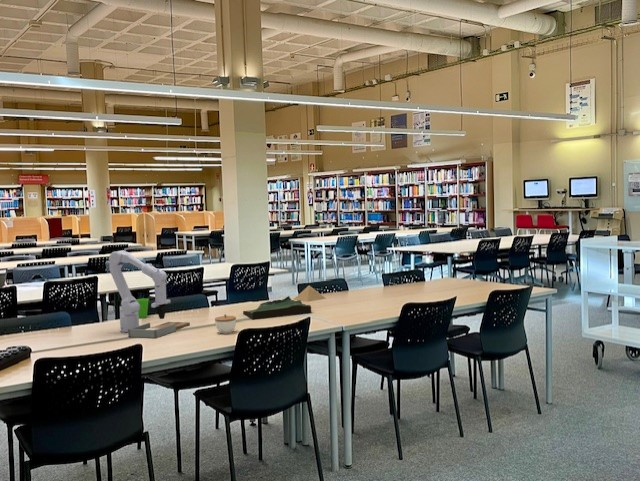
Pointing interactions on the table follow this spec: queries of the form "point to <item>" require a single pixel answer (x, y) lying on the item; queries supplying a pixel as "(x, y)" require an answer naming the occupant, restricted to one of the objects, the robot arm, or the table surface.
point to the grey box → (150, 331)
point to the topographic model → (278, 309)
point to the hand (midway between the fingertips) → (161, 318)
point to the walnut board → (176, 324)
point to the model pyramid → (309, 295)
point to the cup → (143, 307)
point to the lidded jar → (225, 324)
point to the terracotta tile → (158, 326)
